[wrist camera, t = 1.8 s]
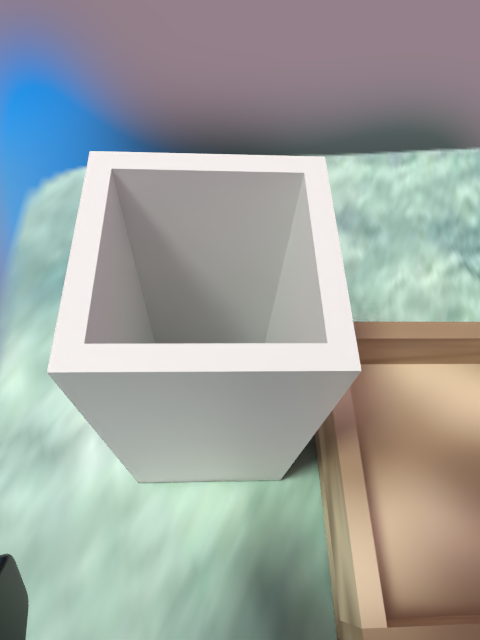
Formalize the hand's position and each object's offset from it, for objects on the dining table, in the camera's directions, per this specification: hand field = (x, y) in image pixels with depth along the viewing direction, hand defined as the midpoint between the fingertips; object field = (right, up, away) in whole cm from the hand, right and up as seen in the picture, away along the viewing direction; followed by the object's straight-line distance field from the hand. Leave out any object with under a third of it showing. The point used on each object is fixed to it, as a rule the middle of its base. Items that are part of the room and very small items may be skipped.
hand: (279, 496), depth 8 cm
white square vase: (-2, -1, +13) cm, 13 cm away
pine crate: (+9, -4, +12) cm, 15 cm away
